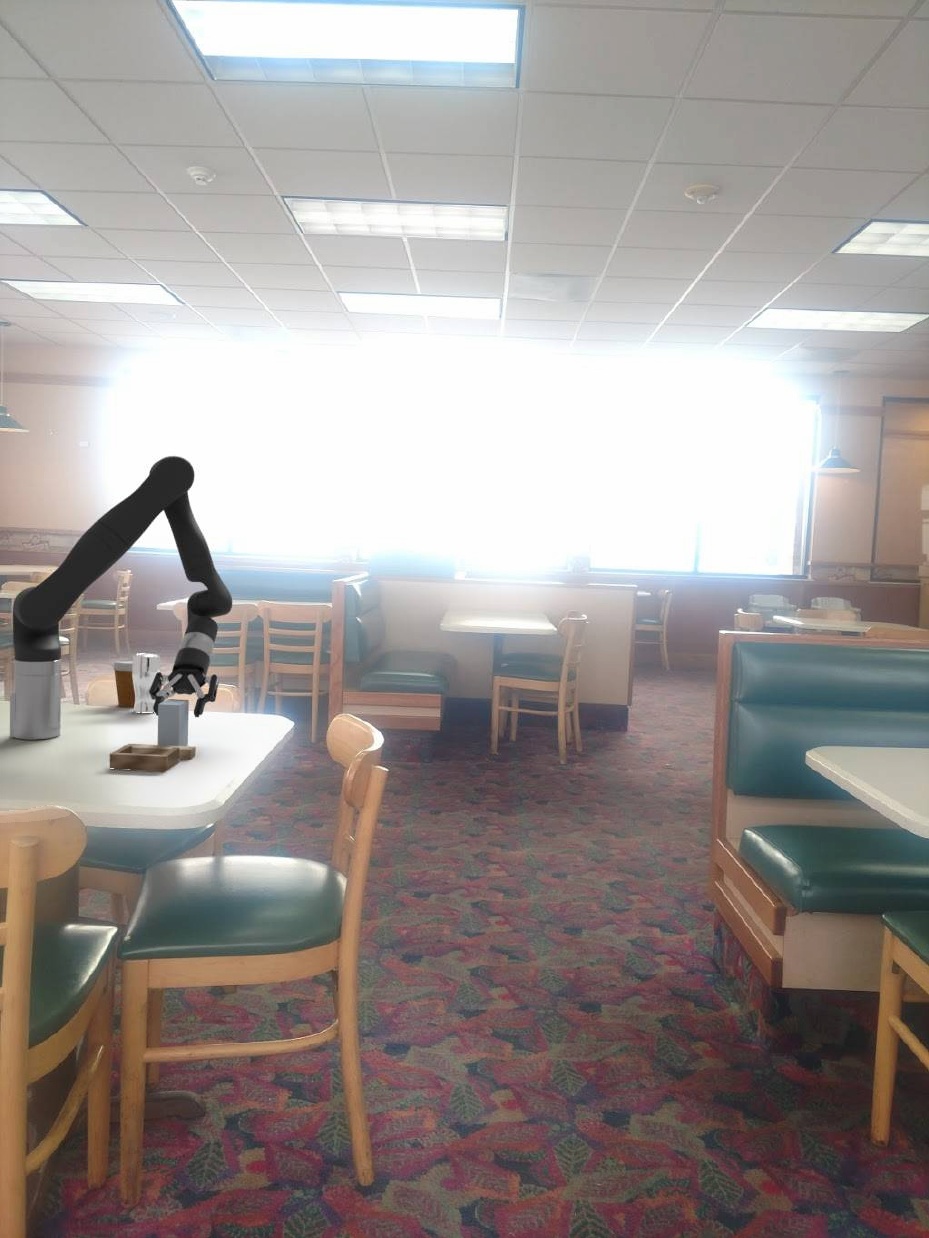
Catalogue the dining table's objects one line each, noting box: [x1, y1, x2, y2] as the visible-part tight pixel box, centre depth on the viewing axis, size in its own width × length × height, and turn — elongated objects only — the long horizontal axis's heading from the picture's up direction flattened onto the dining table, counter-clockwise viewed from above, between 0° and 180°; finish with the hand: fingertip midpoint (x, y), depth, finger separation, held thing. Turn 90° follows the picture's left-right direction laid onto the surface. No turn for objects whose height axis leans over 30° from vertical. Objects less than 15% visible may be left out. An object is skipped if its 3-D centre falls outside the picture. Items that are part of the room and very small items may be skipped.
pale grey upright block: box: [157, 698, 190, 746], centre depth 180 cm, size 4×6×10 cm
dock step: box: [126, 743, 196, 760], centre depth 172 cm, size 14×3×2 cm, turn 90°
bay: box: [109, 744, 180, 772], centre depth 164 cm, size 11×8×3 cm
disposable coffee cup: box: [112, 658, 135, 708], centre depth 225 cm, size 10×10×12 cm
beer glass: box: [132, 653, 162, 713], centre depth 216 cm, size 7×7×15 cm
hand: (176, 714), depth 182 cm, fingers open, 8 cm apart
